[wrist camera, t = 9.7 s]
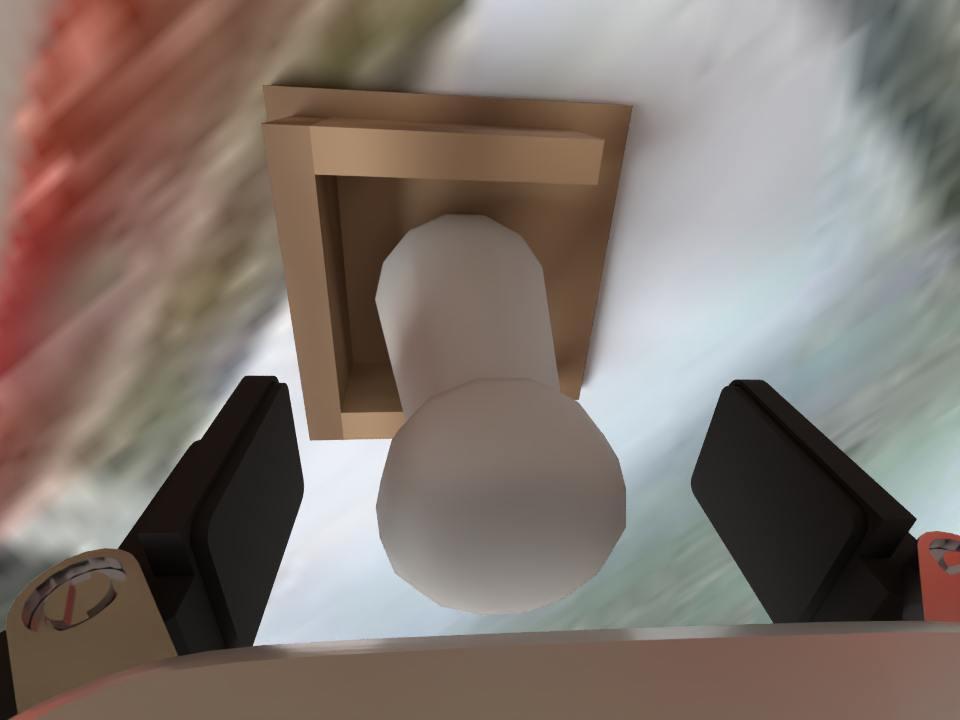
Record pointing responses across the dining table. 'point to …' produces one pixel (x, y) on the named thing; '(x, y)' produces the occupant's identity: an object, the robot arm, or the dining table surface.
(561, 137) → the walnut U-rest
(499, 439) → the salt shaker
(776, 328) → the dining table surface
